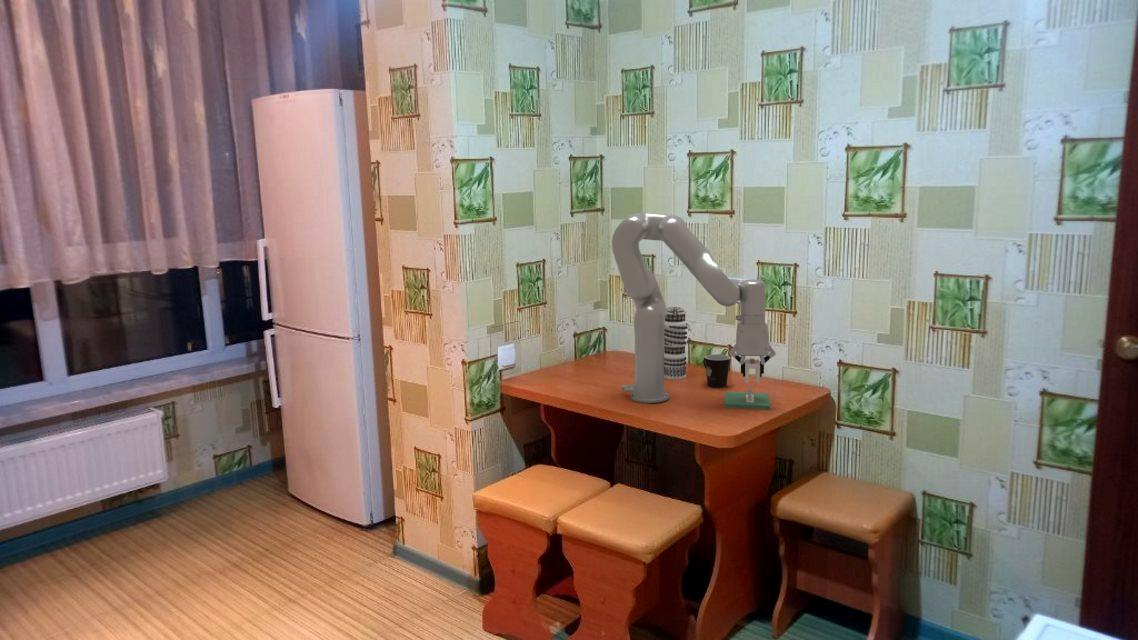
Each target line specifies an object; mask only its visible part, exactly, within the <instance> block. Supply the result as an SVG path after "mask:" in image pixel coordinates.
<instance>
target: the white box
mask: <svg viewBox="0 0 1138 640" xmlns="http://www.w3.org/2000/svg"><path fill="white" fill-rule="evenodd" d="M744 361H745V377H744V382H745V383H746V384H747V383H750V382H749V379H750V378H749V377H750V374H749V371H750V370H754V369H755V382H756V384H760V382H761V377H760V357H745V360H744Z"/></svg>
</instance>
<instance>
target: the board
mask: <svg viewBox="0 0 1138 640" xmlns="http://www.w3.org/2000/svg"><path fill="white" fill-rule="evenodd" d="M723 397H724V400H723V403H724V404H723V407H724V408H725V409H727V408H728V409H730V408H731V409H747V410H749V409H750V410H769V411H770V410H771V401H770V395H769V393H767V392H766V393H765V392H753V388H752V386H748V392H745V391H744V392H743V391H742V392H741V391H724V396H723Z"/></svg>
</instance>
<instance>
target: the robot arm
mask: <svg viewBox="0 0 1138 640" xmlns="http://www.w3.org/2000/svg"><path fill="white" fill-rule="evenodd" d="M611 239H612V240H611V249H612V253H613V257H614V260H615V263H616V266H617V268H618V272H619V275H620V277H621V281H622V284H623V286H624V290H625V292H626V295H627V296H628V297H629V298H630V299H632V300H633V302H634V305H635V308H636V311H635V313H634V317H633V327H634V329H633V330H634V361H635V363H634V370H635V372H634V381H635V382H634V383H631V384H621V391H624V393H625V392H626V393H630V394H629V395H630V399H631V400H632V401H633V402H634V401H635V402H637V403H643V404H644V403H645V404H657V403H663V402H667V401H668V400H669V399H670V394H669V393H668V392H667V391H665V378H664V355H665V352H664V333H665V332H664V323H665V319H666V316H667V306H666V302H665V300H664V298H663V297H664V296H663V294H662V292H661V289H660V286H659V284H658V280H657V279H656V277H655V274H654V273H653V272H652V271H651V270H650V269H648V268H647V266H646V263H645V261H644V257H643V254H642V252H641V250H640V245H639V244H640V242H641V241H642V240H648V241H660V242H661V241H662V242H663V243H664V244H665V245H666V246H667V248H668V249H670V251H671V252H672V253H673V254H674V255H675V256H676V257H677V258H678V259H679V261H680V262H682V264H683V265H684V266H685V268H687V269H688V271H689V272H690V273H691V275H693V277H694V278H696V280H697V281H698V283H700V285H701V286H702V288H704V289H705V290H706V292H707V293H708V294H709V295H710V296H711V297H712V298H713V299H714V300H715V301H716V303H718V304H720V306H722V307H733V306H734V305H736V303H738V302H740V305H739V310H740V312H739V314H738V315H735V320H737V321H738V323H737V327H736V336H735V344H734V346H733V347H732V348H731V350H730V351H729V355H730V357H731V358H734V359H735V360H736V361H737V362H738V363H739V364H740V374H742V377H743V378H745V358H746V357H759V361H760V378H762V377H763V374H765V364H766V363H767V362H768V361H769V360H771V359H772V358H774V356H776V352H775V350H774V348H773V347H772V345H770V334H769V333H770V331H769V326H768V323H767V322H766V284H765V281H763V280H762V279H757V278H756V279H754V278H753V279H745V280H744V279H736V278H735V279H734V278H729V277H728V276H727V275H726V274H725V272H724V271H723V269H721V268H720V266H719V265H718V264H717V263H716V261H715V260H714V259H715V258H713V256H712V254H711V252H710V251H709V249H708V248H707V247H706V246H705V245H704V243H702V241H700V240H699V238H698V237H697V236H696V235H695V234H694V233H693V231H692V230H690V228H689V227H688V226H687V225H686V222H685V220H684V219H683V218H681V217H680V216H678V215H674V214H673V215H672V214H671V215H669V214H657V213H655V214H654V213H645V212H643V213H642V212H636V213H633V214H630V215H628V216H626V217H624V219H623V220H621V222H620V223H619V224H618V226H617V227H616V228H615V229H614V232H613V235H612V238H611Z"/></svg>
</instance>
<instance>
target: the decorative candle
mask: <svg viewBox="0 0 1138 640" xmlns="http://www.w3.org/2000/svg"><path fill="white" fill-rule="evenodd" d="M666 309H667V316H666V319H665V323H664V352H665V355H664V379H669V380H681V379H685V378H686V377H687V366H686V365H687V356H686V355H687V354H686V346H687V345H688V342H687V341H686V339H688V336H687V334H688V332H687V331H686V330H687V329H688V328H689V326H687V325H688V323H687V320H686V314H687V311H685V309H684V308H683V307H679V306H670V307H666Z"/></svg>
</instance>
